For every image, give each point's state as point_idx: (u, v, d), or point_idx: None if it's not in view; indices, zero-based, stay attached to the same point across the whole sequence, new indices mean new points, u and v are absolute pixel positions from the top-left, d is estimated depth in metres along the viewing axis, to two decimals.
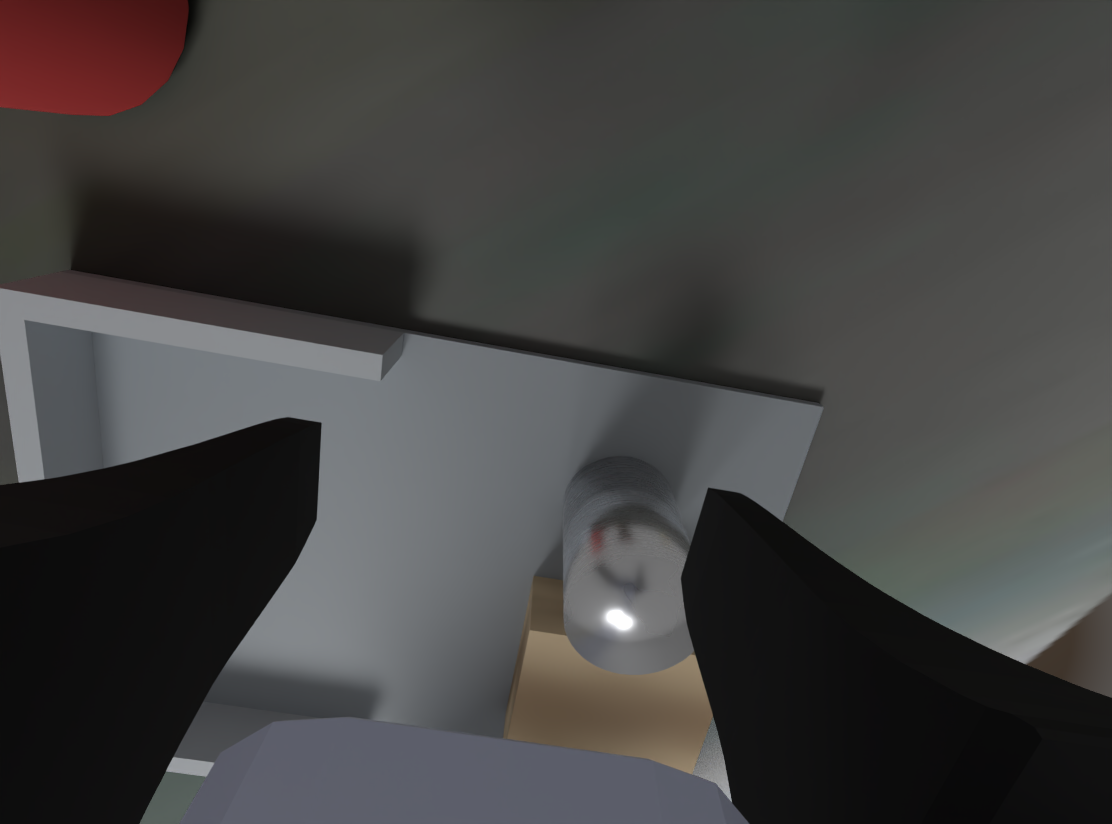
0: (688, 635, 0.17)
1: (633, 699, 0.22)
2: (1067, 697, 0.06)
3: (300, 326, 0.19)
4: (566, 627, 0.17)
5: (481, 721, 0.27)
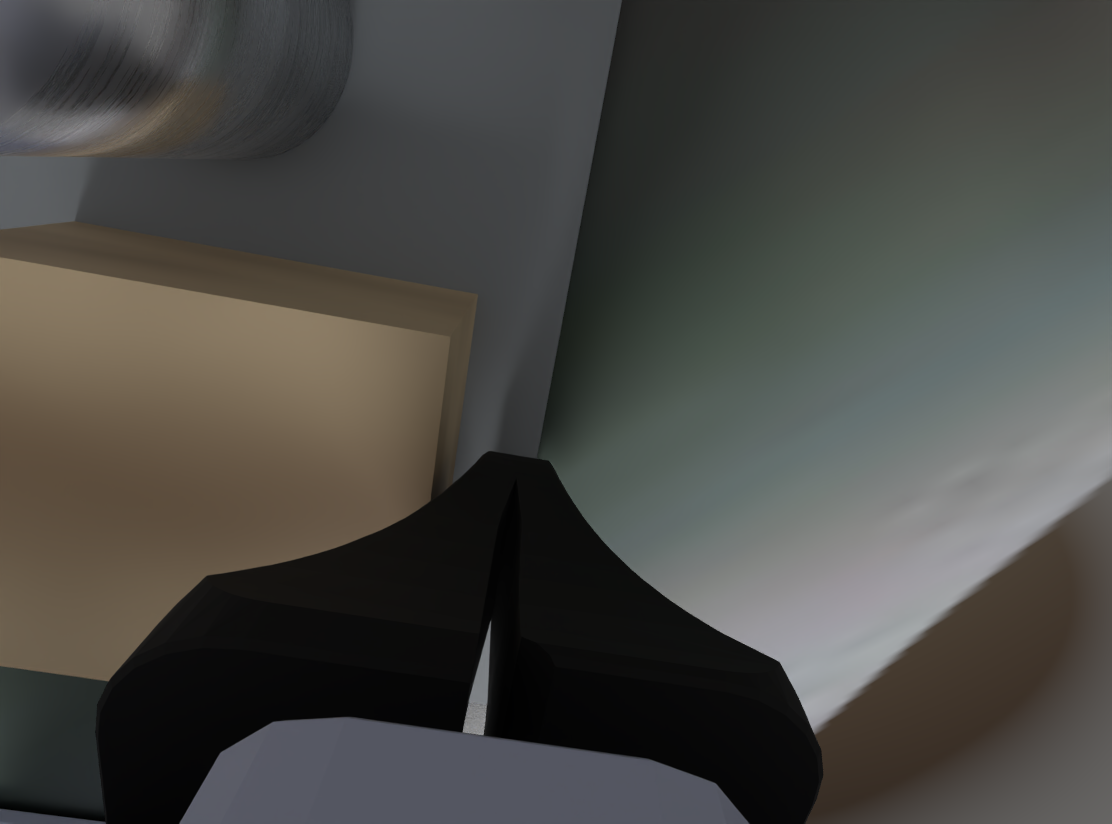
0: None
1: (230, 453, 0.09)
2: (672, 637, 0.05)
3: None
4: None
5: None
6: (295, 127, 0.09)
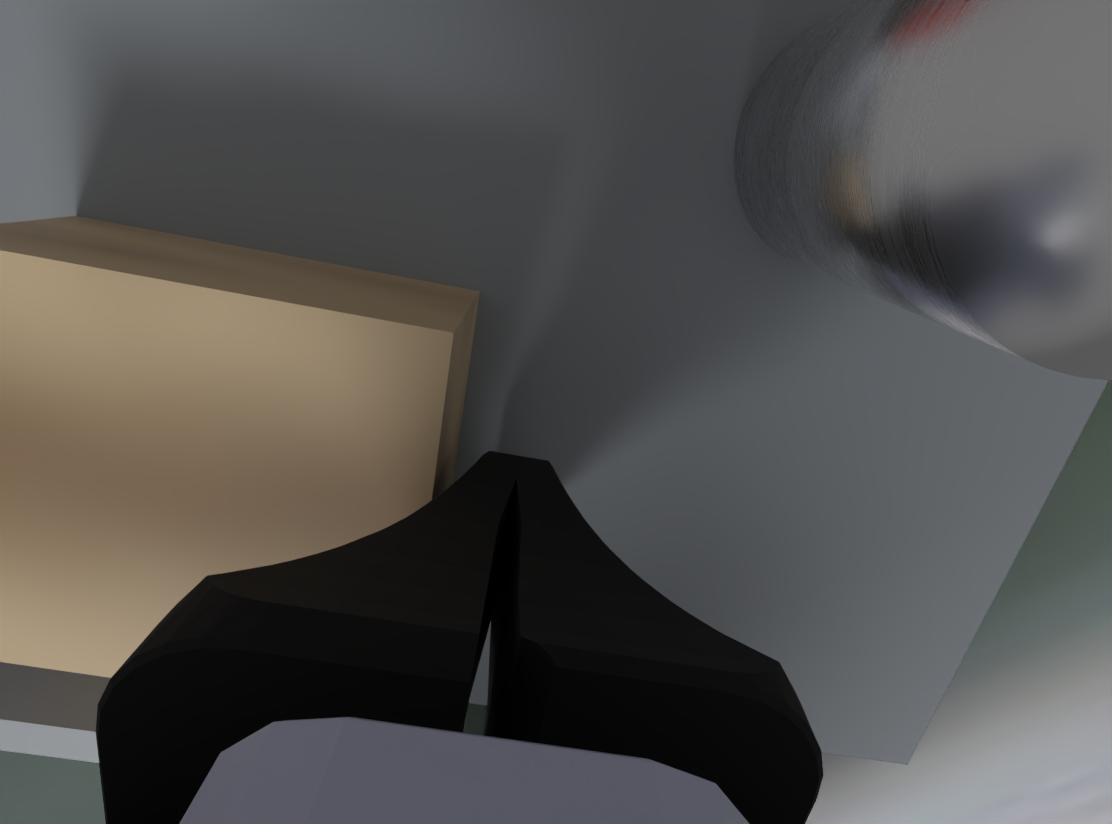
0: None
1: (232, 450, 0.09)
2: (671, 637, 0.05)
3: None
4: (936, 180, 0.05)
5: None
6: None
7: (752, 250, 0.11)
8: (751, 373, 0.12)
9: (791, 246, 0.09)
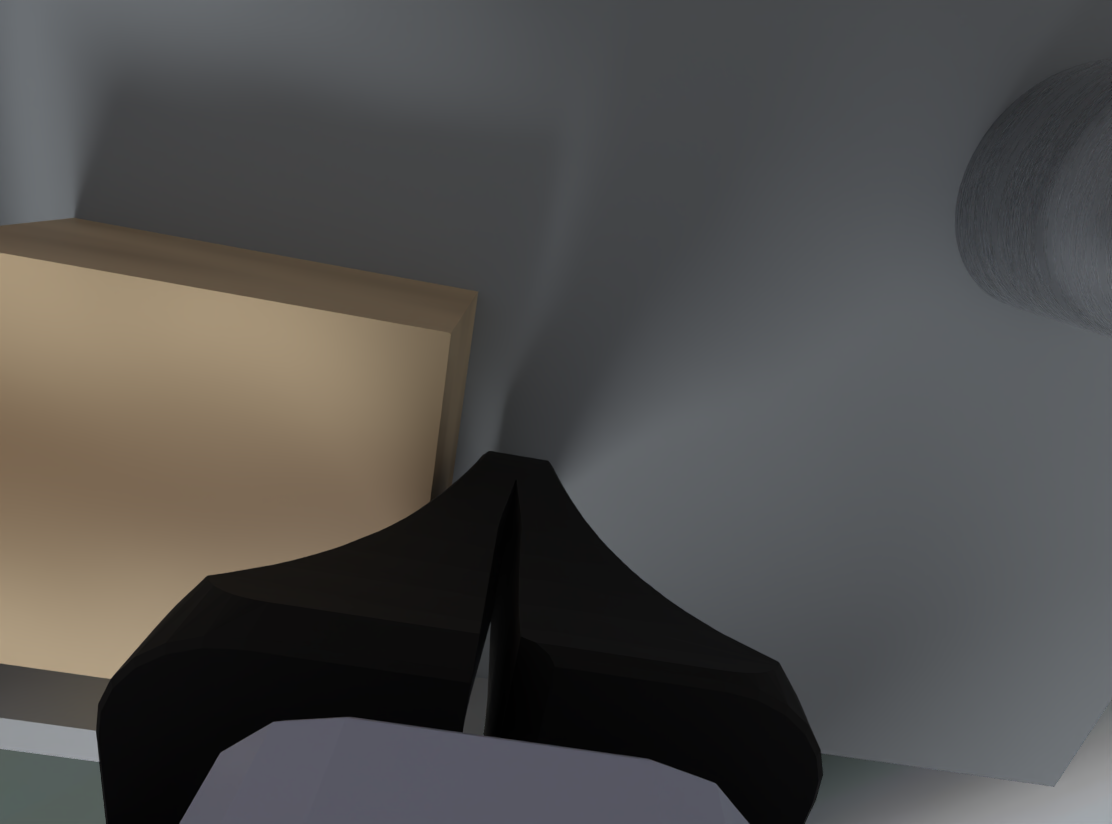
0: None
1: (231, 450, 0.09)
2: (671, 637, 0.05)
3: None
4: None
5: None
6: None
7: (963, 291, 0.11)
8: (947, 409, 0.12)
9: (1038, 294, 0.10)
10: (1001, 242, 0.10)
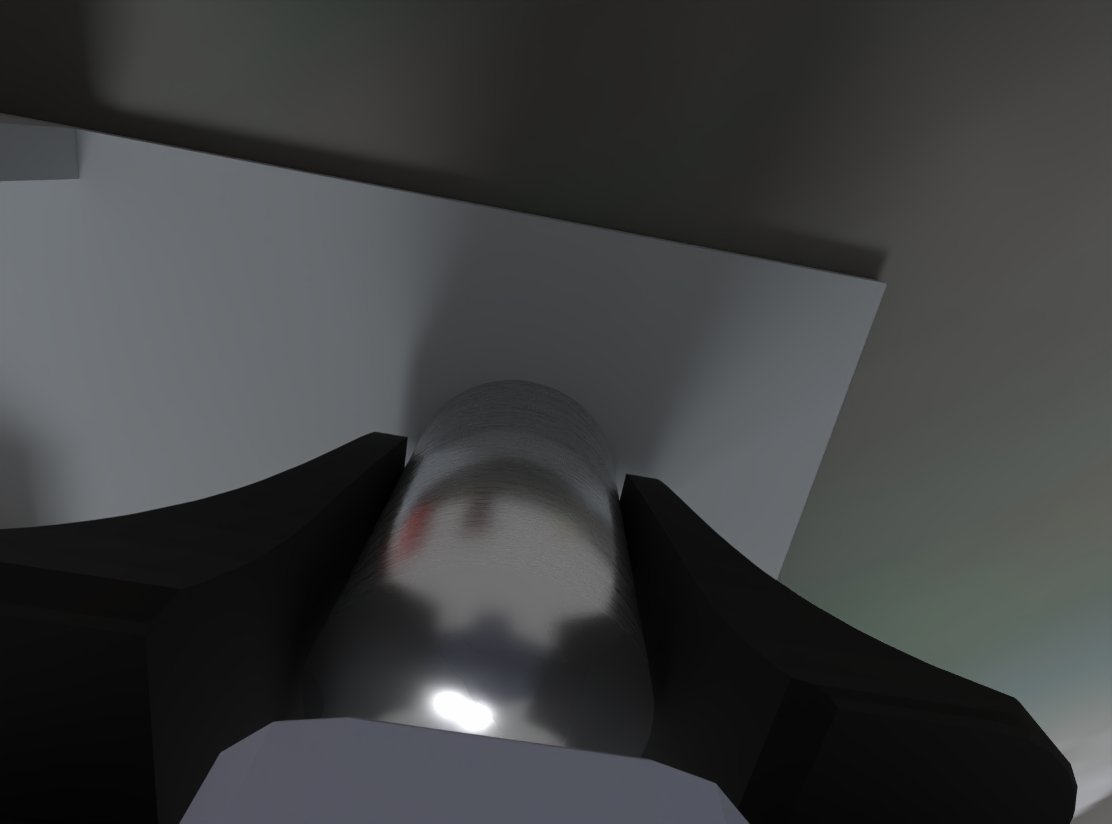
0: None
1: None
2: (900, 671, 0.05)
3: None
4: None
5: None
6: None
7: None
8: None
9: None
10: None
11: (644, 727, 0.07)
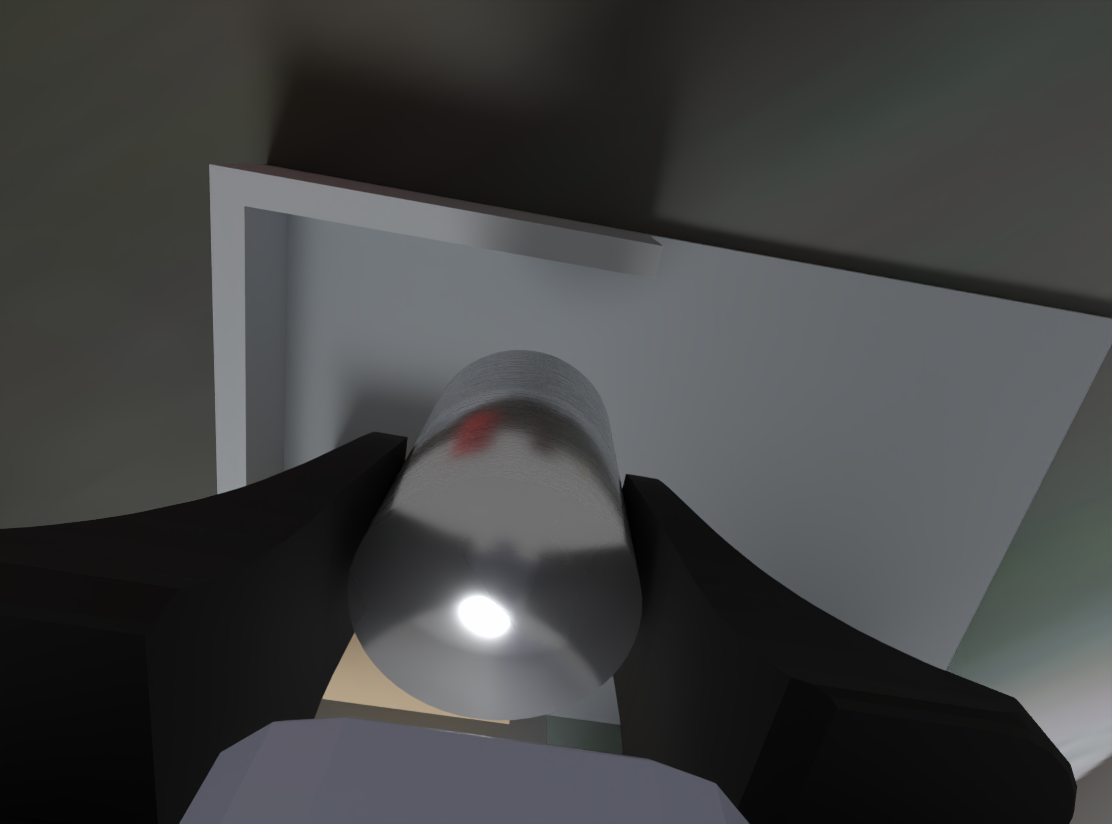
0: (600, 643, 0.09)
1: None
2: (900, 672, 0.05)
3: (548, 220, 0.16)
4: (358, 630, 0.09)
5: None
6: None
7: (811, 488, 0.21)
8: (809, 547, 0.21)
9: None
10: None
11: (634, 620, 0.09)
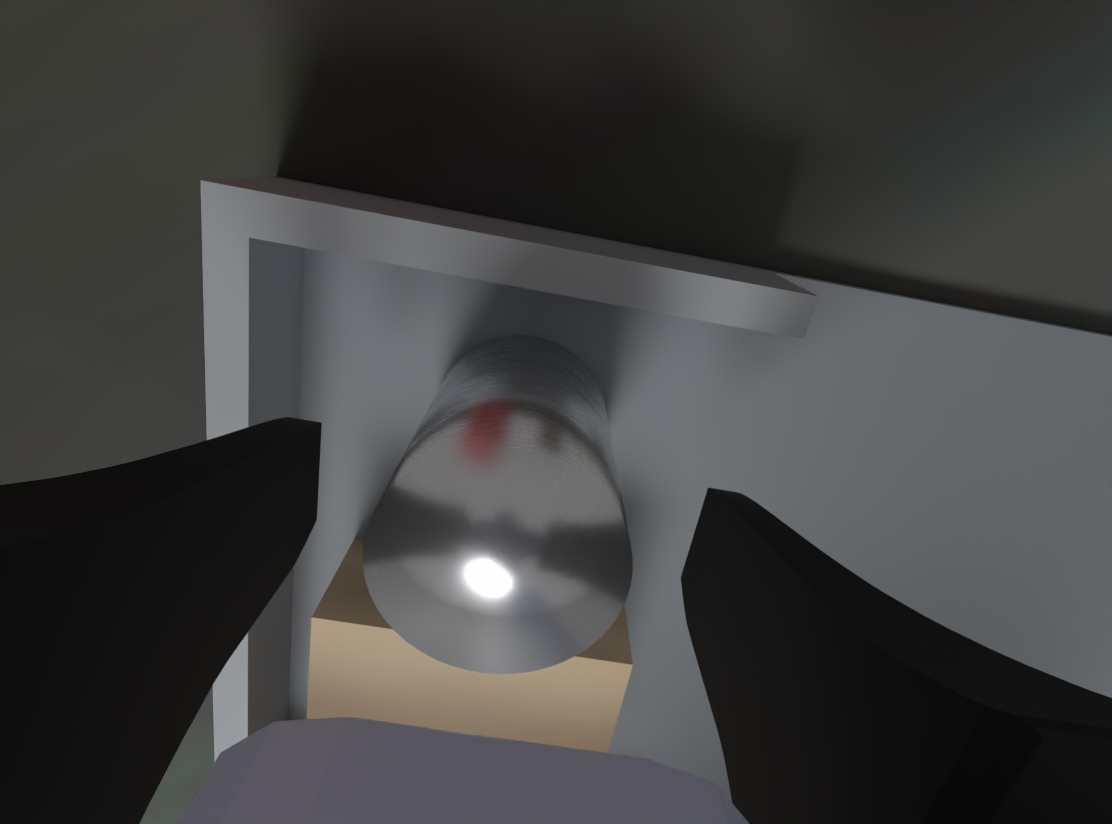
0: (595, 601, 0.10)
1: (486, 723, 0.14)
2: (1067, 697, 0.06)
3: (653, 256, 0.12)
4: (372, 590, 0.10)
5: None
6: None
7: (949, 581, 0.17)
8: None
9: None
10: None
11: (626, 579, 0.09)
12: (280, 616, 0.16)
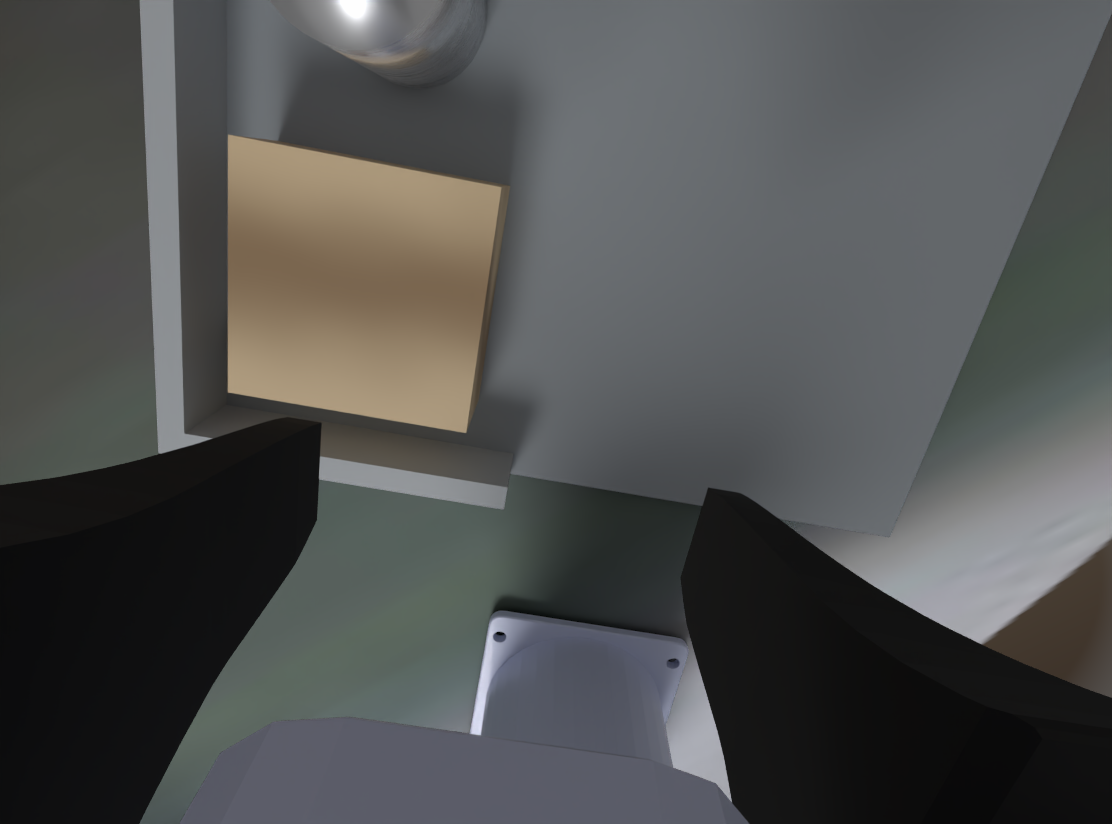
0: None
1: (381, 255, 0.17)
2: (1067, 697, 0.06)
3: None
4: None
5: (652, 448, 0.22)
6: (458, 65, 0.17)
7: (795, 185, 0.19)
8: (792, 261, 0.20)
9: None
10: None
11: None
12: (213, 206, 0.19)
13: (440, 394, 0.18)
